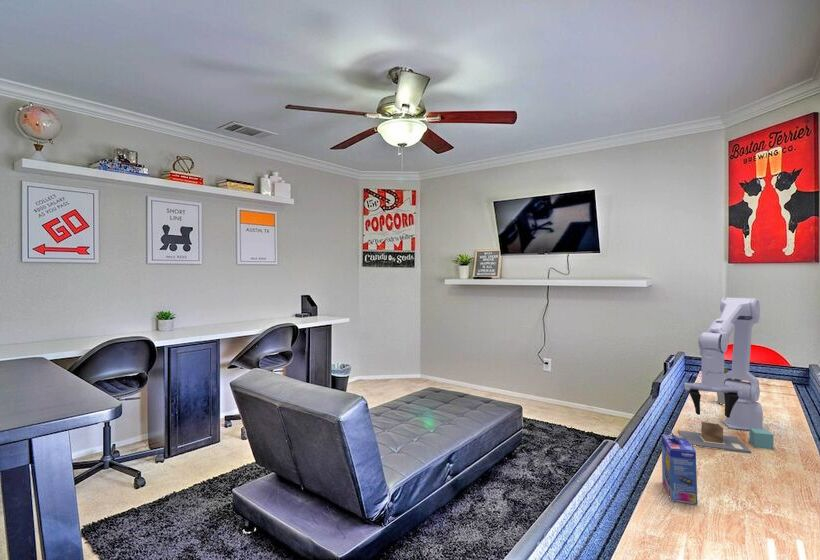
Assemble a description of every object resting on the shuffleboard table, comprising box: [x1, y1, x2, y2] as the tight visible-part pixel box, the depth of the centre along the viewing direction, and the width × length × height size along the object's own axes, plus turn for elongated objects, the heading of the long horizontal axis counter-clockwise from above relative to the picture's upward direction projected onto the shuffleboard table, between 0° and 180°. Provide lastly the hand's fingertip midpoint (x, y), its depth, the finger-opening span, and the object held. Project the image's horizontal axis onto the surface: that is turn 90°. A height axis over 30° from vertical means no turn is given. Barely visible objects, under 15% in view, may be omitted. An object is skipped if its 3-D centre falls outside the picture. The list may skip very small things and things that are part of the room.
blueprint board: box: [677, 429, 752, 454], centre depth 133 cm, size 16×12×1 cm
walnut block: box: [700, 421, 724, 443], centre depth 133 cm, size 4×4×4 cm
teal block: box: [748, 428, 774, 451], centre depth 130 cm, size 4×4×4 cm
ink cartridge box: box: [660, 428, 699, 505], centre depth 102 cm, size 10×6×14 cm, turn 161°
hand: (712, 415), depth 133 cm, fingers open, 7 cm apart
